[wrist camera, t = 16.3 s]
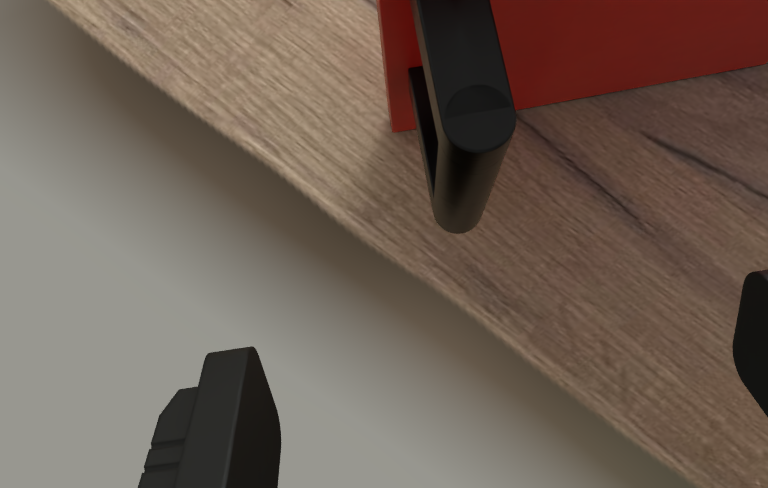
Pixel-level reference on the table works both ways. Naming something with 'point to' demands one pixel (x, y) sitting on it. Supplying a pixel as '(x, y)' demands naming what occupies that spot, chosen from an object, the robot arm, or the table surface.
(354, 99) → the table surface
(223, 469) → the robot arm
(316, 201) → the table surface
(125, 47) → the table surface
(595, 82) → the door
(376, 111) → the table surface
